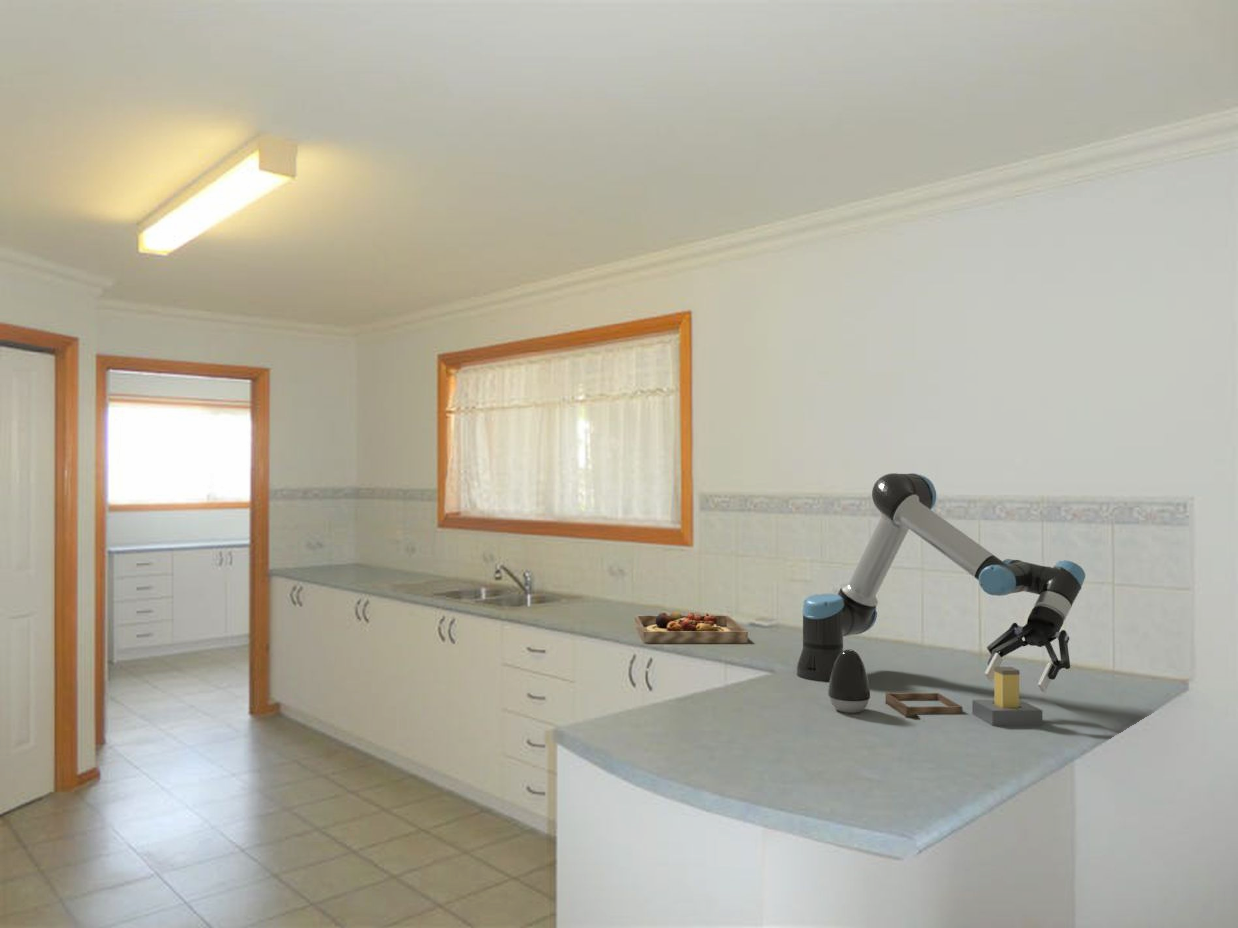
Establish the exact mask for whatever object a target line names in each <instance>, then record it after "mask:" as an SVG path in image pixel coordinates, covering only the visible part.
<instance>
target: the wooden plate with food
mask: <svg viewBox="0 0 1238 928" xmlns="http://www.w3.org/2000/svg"><path fill="white" fill-rule="evenodd" d="M657 615H658V616H657V617H656V621H655V622H656V625H651V626H646V628H645V630H646V631H731V630H730V629H729V628H728V627H725V626H717V625H716V623H717V619H716V617H714V616H715V615H710V614H709V613H706V614H705V615H706V616H703V617H701V616H700V614H694V613H693V612H689V613H688V614H687V617H686V618H683V616H682V614H681V613H680V612H678V611H677V610H674V612H672V613H670V614H667V613H666V611H661V612H660V613H659V614H657ZM668 615H669V616H668ZM709 615H710V616H709ZM702 620H703V621H702Z"/></svg>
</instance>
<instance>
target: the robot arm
mask: <svg viewBox="0 0 1238 928" xmlns="http://www.w3.org/2000/svg"><path fill="white" fill-rule="evenodd" d="M871 499H872V502H873V504H874V506H875V507H876V509H877V510H878V511H879V513H880V518H879V520H878V523H877V524H876V526H875V528H874V531H873V532H872V534H871V537H870V539H869V541H868V543H867V545H866V547H865V549H864V551H863V554H862V555H861V557H860V559H859V562H858V564H857V566H856V568H855V569H854V571H853V573H852V576H851V578H850V580H849V582H848V583H843V584H841V586H840V588H839V590H838V593H837V594H836V593H835V594H834V593H821V594H820V593H819V594H818V593H817V594H813V595H809V596H807V597H806V598H805V599H804V601H803V603H802V604H803V605H802V607H803V608H802V650H801V652H800V656H799V659H798V662H797V664H796V676H799V677H801V678H804V679H808V680H815V681H827V682H830V677H831V673H832V669H833V666H834V663H835V661H836V659H837V657H838V655H839V654H840V653H841V652H842V651H844V637H847V636H854V635H857V636H858V635H860V634H863V633H865V632H867V631H869V630H870V629H871V628H872V627H873V626H875V623H876V620H877V617H878V612H877V606H878V599H877V594H878V592H879V590H880V588H881V586H882V584H883V582H884V580H885V578H886V575H887V574H888V572H889V570H890V568H891V566H892V565H893V562H894V559H895V558H896V556H897V554H898V551H899V550H900V548H901V546H902V543H903V542H904V540H905V538H906V536H907V534H908V532H909V530H910V531H912V532H913V533H914V534H916V535H917V537H918V536H919V537H920V538H921V539H922V540H924V541H925V542H926V543H927V544H929V545H930V546H931V547H932V548H935V550H937V551H938V552H940V553H941V554H942V555H944V557H946V558H948V559H949V560H951V561H952V562H953V563H955V564H956V565H957V566H958V567H960V568H961V569H962V570H963V571H965V572H967V573H968V574H969V575H970V576H972V577H973V578H974V579H976V580H977V581H978V584H979V586H980V588H981V589H982V590H983V592H985V594H988V595H990V596H999V597H1000V596H1007V595H1009V594H1015V593H1016V594H1017V593H1022V592H1025V593H1031V594H1035V595H1039V596H1038V598H1037V599H1036V602H1035V603H1034V605H1033V608H1032V609H1031V610H1030V613H1029V615H1028V617H1027V621H1026V624H1025V625H1024V626H1021V625H1018V624H1017V622H1013V623H1012V624H1011V626H1009V628H1008V629H1007V630H1006V631H1005V632H1003V634H1001V635H999V636H998V637H997V638H995V640H994V641H992V642H991V643H990V644H989V645H988V646H986V650H987V651H988V653H989V654H990V657H989V659H988V661H987V665H988V666H987V668H986V669H985V671H984V675H985V677H986V678H987V679H988V681H991V682H993V680H994V672H995V671H994V667H1001V665H1002V662H1003V661H1004V659H1003V657H1005V656H1007V655H1008V654H1010V653H1012V652H1014V651H1016V650H1019V648H1022V647H1027V646H1028V645H1029V646H1031V647H1033V646H1034V647H1035V646H1037V647H1038V648H1042V647H1045V649H1046V651H1047V653H1048V656H1049V658H1050V659H1051V660H1050V661H1051V662H1048V663H1047V664H1046V665H1045V668H1044V670H1043V672H1042V674H1041V676H1040V678H1039V680H1038V683H1037V686H1038V687H1039V689H1040V691H1041V692H1043V693H1046V691H1047V689H1048V686H1050V683H1051V681H1053V680H1055V679H1056V678H1057V675H1058V674H1059V672H1060V670H1062V669H1066V670H1069V669H1071V663H1070V653H1069V646H1068V643H1069V641H1070V636H1069V635H1068V633H1067V631H1066V630H1065V629H1062V627H1063V625H1064V622H1065V620H1066V618H1067V616H1068V614H1069V613H1070V610H1071V608H1072V607H1073V604H1074V602H1075V600H1076V598H1077V597H1078V595H1079V593H1080V591H1081V590H1082V586H1083V584H1084V582H1085V579H1086V572H1085V571H1084V569H1083V567H1082V566H1080V565H1079V564H1077V563H1075V562H1074V561H1070V560H1059V561H1058V562H1056V563H1055V565H1053V567H1051V566H1043V565H1040V564H1035V563H1030V562H1027V561H1023V560H1020V559H1011V558H1005V559H1004V560H1002V559H1000V558H998V557H997V556H996V555H995V554H993V553H992V552H990V551H989V550H988V549H986V548H984V547H983V546H982V545H981V544H979V543H978V542H976V541H975V540H973V538H971V537H969V536H968V535H966V533H964V532H963V531H961V530H960V529H959V528H957V527H956V526H954V525H952V524H951V523H950V522H949V521H947V520H945V518H943V517H941V516H940V515H939V514H937V513H935V511H934V510H932V509H933V508H934V506H935V504H936V501H937V490H936V488H935V485H934V483H933V482H932V480H930V479H929V478H928V477H926V476H925V475H922V474H917V473H913V472H912V473H897V472H896V473H888V474H887V473H886V474H885V475H882V476H881V477H880V478H878V479H877V480H876V481H875V483H874V484H873V487H872V490H871ZM1061 629H1062V630H1061ZM1023 639H1024V640H1023ZM1056 639H1057V640H1058V649H1059V656H1060V660H1059V658H1058V656H1057V654H1056V652H1055V650H1054V648H1053V645H1052V642H1053V641H1055V640H1056Z"/></svg>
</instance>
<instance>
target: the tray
mask: <svg viewBox="0 0 1238 928" xmlns="http://www.w3.org/2000/svg"><path fill="white" fill-rule="evenodd" d="M901 700H902V701H904V700H905V701H910V700H911V701H914V700H915V701H916V700H917V701H918V700H919V701H921V700H922V701H924V700H927V701H930V700H932V701H934V700H936V701H939V702H940V703H942V704H943V705H945V706H942V705H941V706H939V705H938V706H934V705H933V706H928V705H927V706H908V705H906V704H905V703H904V702H902V701H901ZM885 704H886V705H888V706H889V707H890V708H892V709H893V710H895V711H897V712H898V713H899V714H900V715H902V716H904V717H905V718H920V716H919V715H918V714H920V715H921V714H923V715H924V714H931V715H932V714H963V707H964V706H962V705H960V704H958V703H957V702H955V701H953V700H952V699H949V698H948V697H946V696H944V695H943V694H941V693H939V692H912V693H911V692H910V693H909V692H898V693H897V692H892V693H891V692H890V693H889V692H886V693H885Z"/></svg>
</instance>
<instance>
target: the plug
mask: <svg viewBox="0 0 1238 928" xmlns="http://www.w3.org/2000/svg"><path fill="white" fill-rule="evenodd" d="M994 671H995V672H994V678H993V680H994V683H993V684H994V688H993V689H994V698H993V700H994V704H996V705H998V706H999V707H1001V708H1019V700H1020V670H1019V669H1018V668H1017V669H1016V668H1015V667H1012V666H999V667H994Z"/></svg>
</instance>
